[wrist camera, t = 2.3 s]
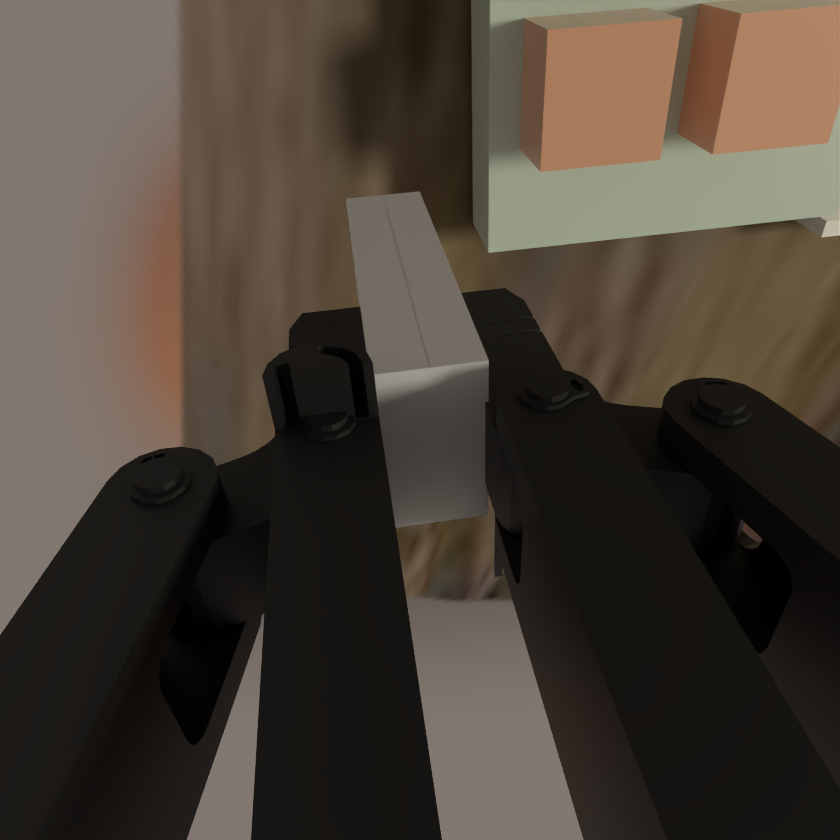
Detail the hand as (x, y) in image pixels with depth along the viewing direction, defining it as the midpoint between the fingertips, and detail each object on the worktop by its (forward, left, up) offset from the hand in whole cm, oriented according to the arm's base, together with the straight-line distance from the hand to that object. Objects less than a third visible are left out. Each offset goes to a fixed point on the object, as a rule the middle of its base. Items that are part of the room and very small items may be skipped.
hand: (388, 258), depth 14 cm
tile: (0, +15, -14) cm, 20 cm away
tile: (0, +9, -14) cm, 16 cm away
